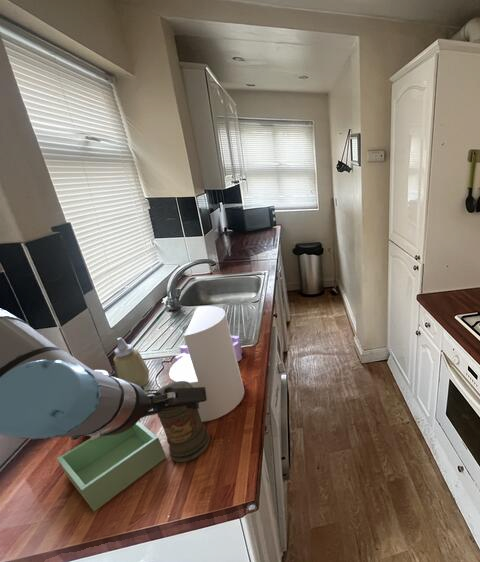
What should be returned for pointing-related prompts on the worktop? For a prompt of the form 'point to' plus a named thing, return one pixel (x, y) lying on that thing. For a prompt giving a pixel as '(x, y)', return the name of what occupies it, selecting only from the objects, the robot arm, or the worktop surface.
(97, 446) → the tub
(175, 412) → the container
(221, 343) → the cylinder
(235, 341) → the clip
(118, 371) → the squeeze bottle
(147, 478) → the worktop surface
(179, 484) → the worktop surface
